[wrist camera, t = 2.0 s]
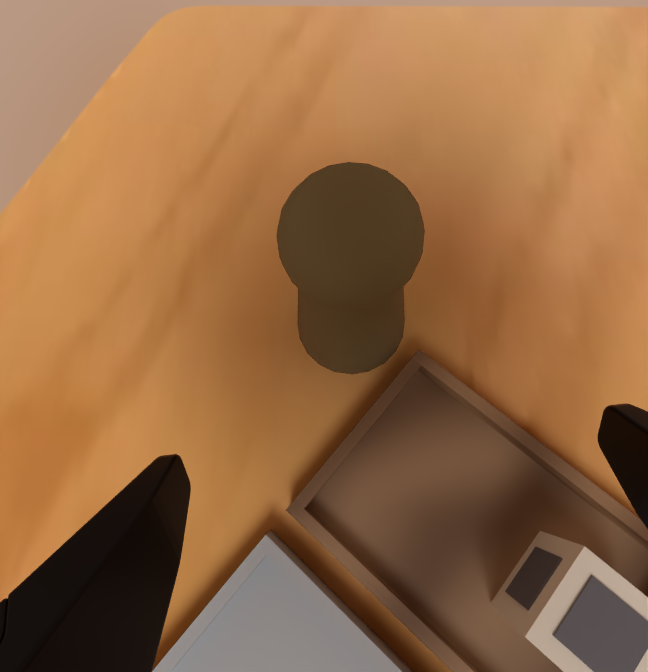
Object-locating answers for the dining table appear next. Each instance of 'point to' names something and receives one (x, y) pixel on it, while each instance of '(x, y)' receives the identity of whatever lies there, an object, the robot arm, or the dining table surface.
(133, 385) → the dining table surface
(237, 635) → the grey tray
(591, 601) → the beige and grey cube
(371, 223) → the brown rounded upright piece
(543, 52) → the dining table surface
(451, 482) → the walnut tray
